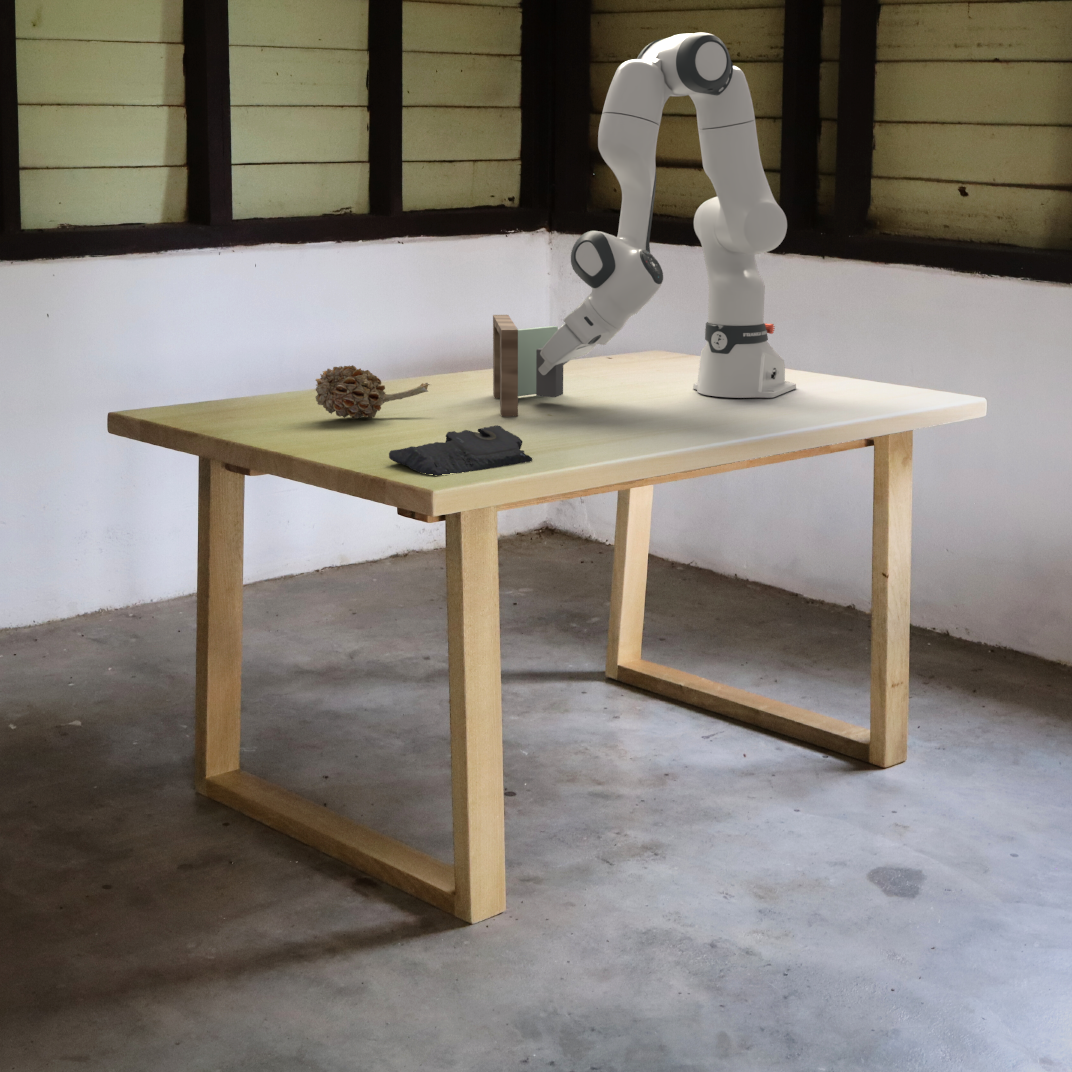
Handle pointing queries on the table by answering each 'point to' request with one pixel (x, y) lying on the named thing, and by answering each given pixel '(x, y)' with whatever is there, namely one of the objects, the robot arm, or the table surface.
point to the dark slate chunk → (464, 452)
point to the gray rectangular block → (548, 379)
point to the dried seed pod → (356, 392)
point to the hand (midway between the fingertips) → (547, 370)
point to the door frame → (505, 364)
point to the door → (530, 356)
